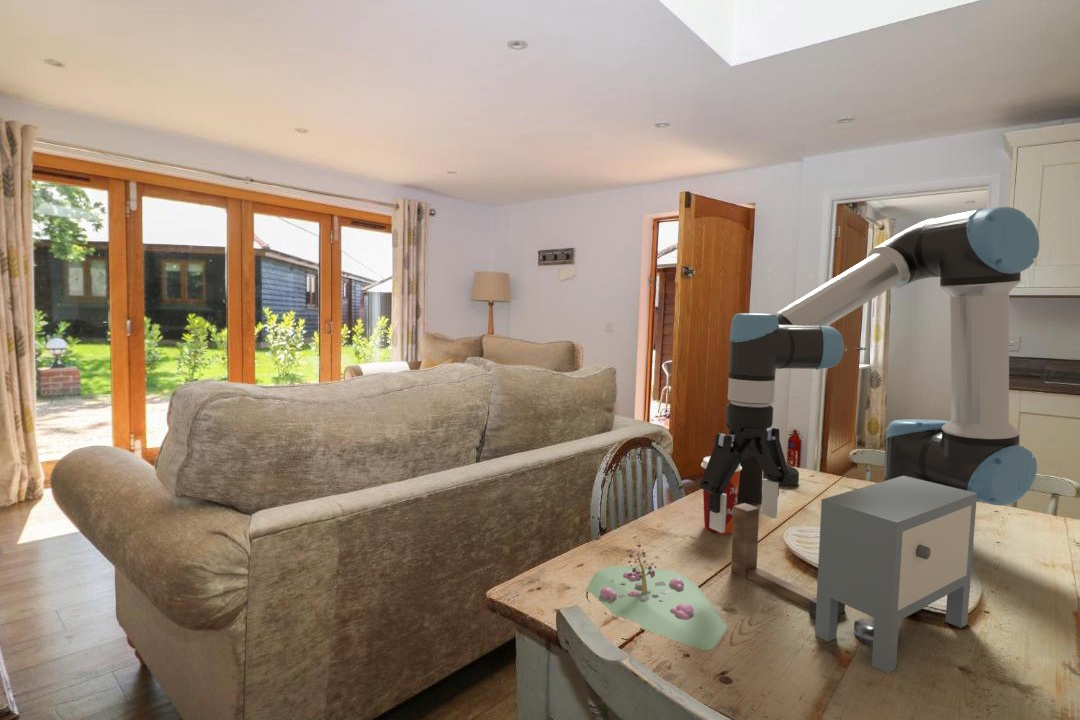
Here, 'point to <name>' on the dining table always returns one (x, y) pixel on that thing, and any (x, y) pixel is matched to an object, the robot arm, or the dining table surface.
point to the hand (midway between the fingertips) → (743, 522)
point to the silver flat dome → (864, 630)
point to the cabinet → (894, 557)
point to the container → (750, 481)
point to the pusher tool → (747, 559)
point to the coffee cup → (730, 502)
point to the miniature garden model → (659, 603)
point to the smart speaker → (788, 477)
